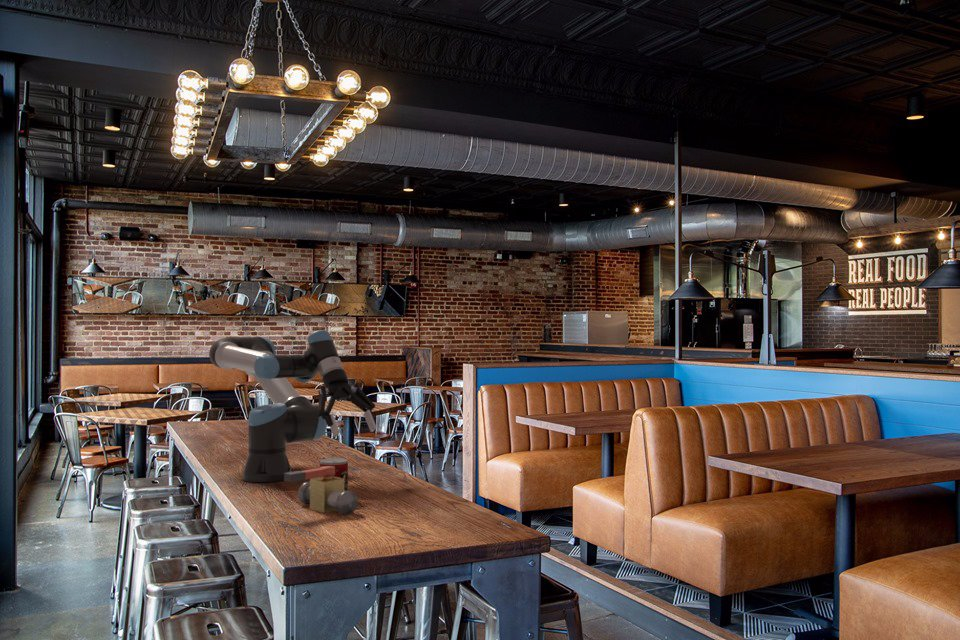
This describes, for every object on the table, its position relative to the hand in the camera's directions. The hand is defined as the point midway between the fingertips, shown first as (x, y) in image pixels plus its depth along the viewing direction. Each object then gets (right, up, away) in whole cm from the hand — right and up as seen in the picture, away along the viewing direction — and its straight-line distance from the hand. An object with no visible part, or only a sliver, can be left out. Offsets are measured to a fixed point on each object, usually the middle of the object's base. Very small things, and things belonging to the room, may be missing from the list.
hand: (355, 432), depth 228 cm
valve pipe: (-2, -16, -32) cm, 35 cm away
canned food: (-3, -16, -20) cm, 26 cm away
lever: (-6, -6, -35) cm, 36 cm away
